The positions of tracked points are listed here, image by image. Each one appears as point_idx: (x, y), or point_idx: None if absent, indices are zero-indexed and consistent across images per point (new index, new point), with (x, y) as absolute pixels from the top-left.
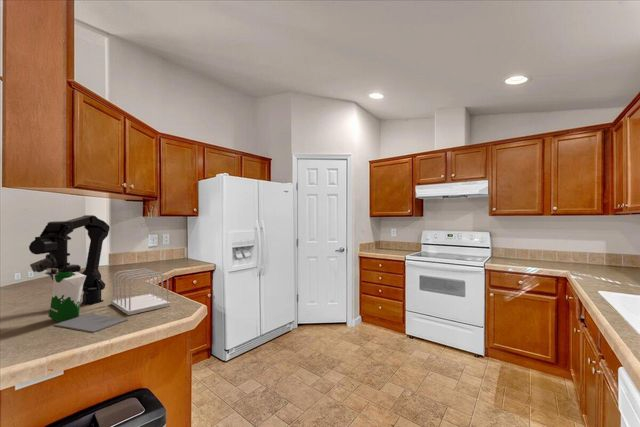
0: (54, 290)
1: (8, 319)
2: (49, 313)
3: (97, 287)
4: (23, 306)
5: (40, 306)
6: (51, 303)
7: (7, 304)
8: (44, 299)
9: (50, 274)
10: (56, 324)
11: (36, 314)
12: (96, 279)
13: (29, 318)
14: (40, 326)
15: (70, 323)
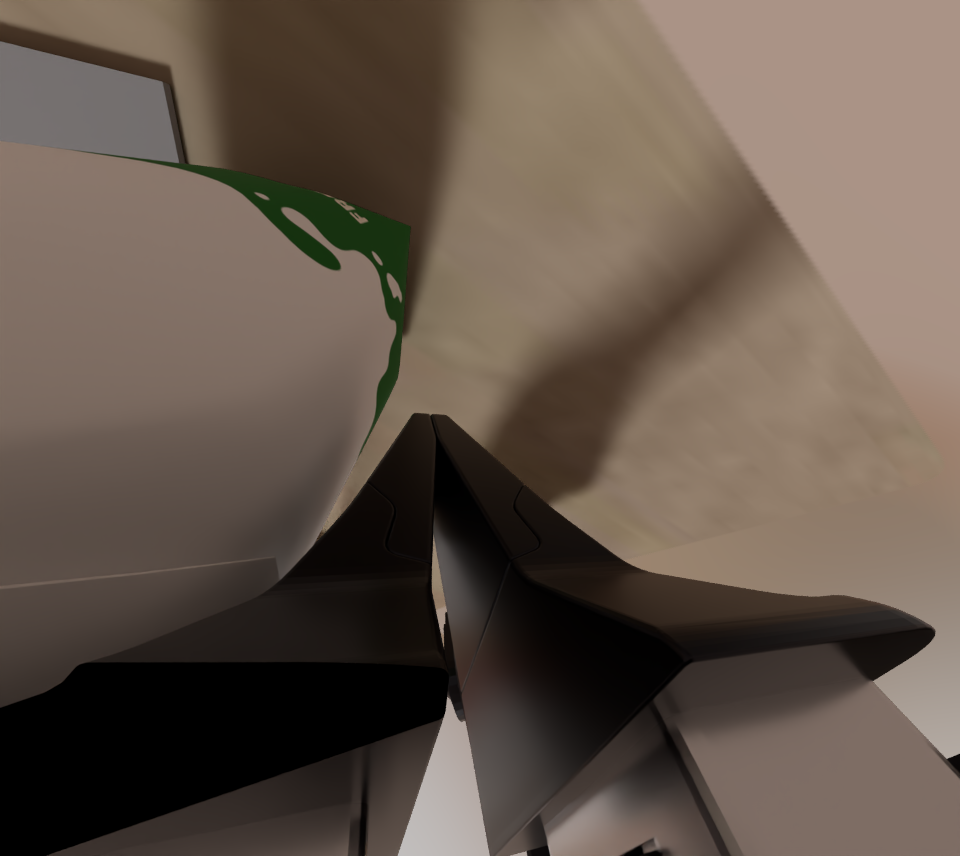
0: (18, 152)
1: (744, 195)
2: (379, 215)
3: (446, 633)
4: (809, 414)
5: (720, 434)
6: (287, 188)
7: (904, 417)
8: (774, 504)
9: (598, 622)
10: (128, 81)
11: (632, 324)
12: (459, 703)
13: (609, 243)
14: (289, 42)
15: (12, 137)
